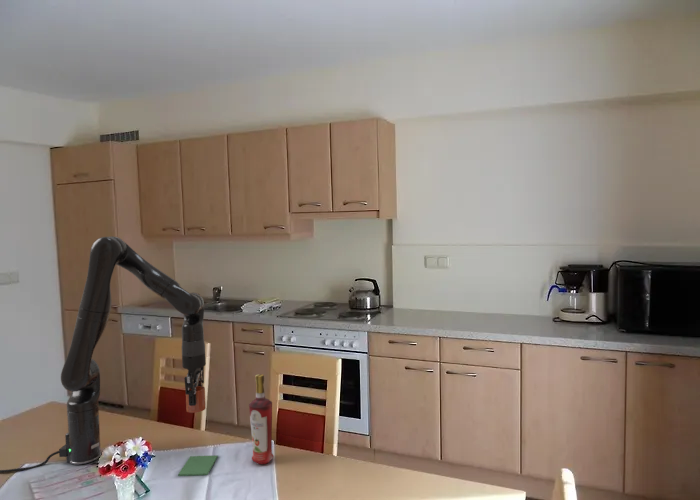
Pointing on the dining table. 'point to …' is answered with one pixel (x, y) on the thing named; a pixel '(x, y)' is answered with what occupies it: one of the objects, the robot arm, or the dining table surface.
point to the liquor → (261, 424)
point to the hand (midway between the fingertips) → (195, 401)
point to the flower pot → (197, 401)
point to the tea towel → (198, 465)
